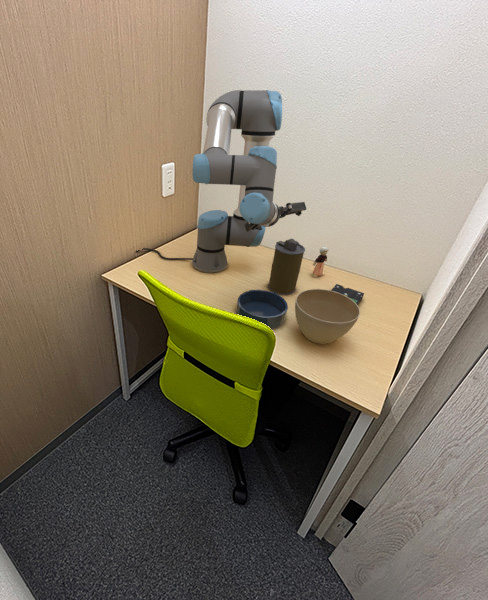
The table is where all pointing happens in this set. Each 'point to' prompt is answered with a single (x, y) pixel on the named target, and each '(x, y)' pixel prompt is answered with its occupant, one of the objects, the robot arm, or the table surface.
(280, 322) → the bowl
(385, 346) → the table surface
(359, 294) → the disk drive
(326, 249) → the grandmother figurine
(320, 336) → the tan rounded vessel
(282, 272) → the canister
